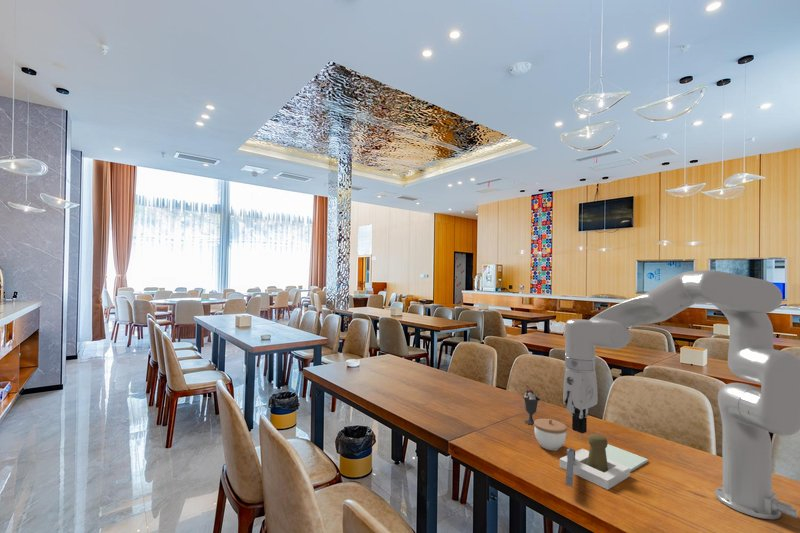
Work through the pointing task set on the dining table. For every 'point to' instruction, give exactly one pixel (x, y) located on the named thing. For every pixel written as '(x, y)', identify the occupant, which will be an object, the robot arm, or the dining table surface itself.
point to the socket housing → (593, 475)
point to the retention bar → (570, 466)
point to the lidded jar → (550, 433)
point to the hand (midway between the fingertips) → (579, 431)
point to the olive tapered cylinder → (597, 452)
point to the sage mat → (624, 457)
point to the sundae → (530, 404)
